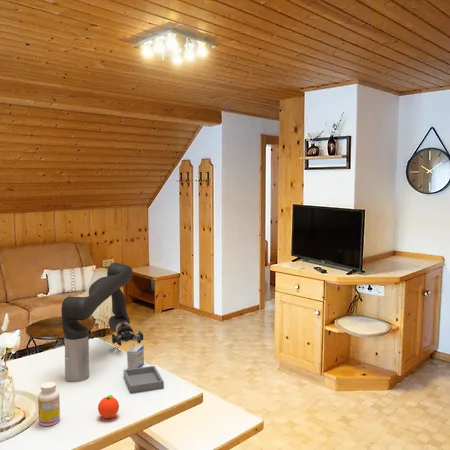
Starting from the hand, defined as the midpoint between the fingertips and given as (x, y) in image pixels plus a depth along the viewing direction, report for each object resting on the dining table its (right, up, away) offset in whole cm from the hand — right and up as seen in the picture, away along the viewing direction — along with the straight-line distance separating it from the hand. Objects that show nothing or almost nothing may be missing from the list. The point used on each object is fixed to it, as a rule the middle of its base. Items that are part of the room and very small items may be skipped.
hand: (130, 342), depth 214 cm
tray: (+11, -9, -27) cm, 31 cm away
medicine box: (+5, -8, -13) cm, 16 cm away
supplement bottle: (-15, -12, -58) cm, 61 cm away
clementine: (+4, -12, -53) cm, 55 cm away
